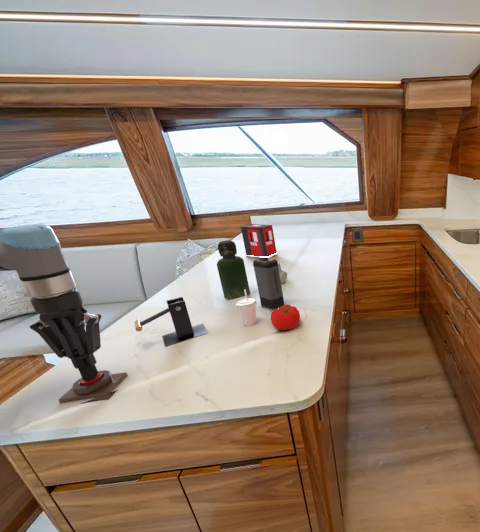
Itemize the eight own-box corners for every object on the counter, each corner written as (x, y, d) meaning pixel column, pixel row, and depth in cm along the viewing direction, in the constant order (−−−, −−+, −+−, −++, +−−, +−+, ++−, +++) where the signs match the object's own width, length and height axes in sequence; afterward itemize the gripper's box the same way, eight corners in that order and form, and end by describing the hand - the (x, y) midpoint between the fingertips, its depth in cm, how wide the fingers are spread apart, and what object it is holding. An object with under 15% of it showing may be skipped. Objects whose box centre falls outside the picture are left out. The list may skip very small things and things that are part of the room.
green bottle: (222, 295, 135) (209, 242, 127) (246, 289, 142) (235, 237, 134) (227, 302, 128) (214, 246, 120) (253, 295, 134) (242, 241, 126)
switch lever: (138, 333, 90) (133, 327, 89) (137, 326, 95) (132, 320, 93) (185, 309, 97) (180, 303, 96) (182, 303, 101) (178, 297, 100)
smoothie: (264, 323, 110) (257, 288, 105) (249, 331, 104) (241, 295, 100) (252, 319, 112) (245, 285, 108) (237, 327, 107) (229, 292, 102)
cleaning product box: (276, 255, 196) (272, 225, 189) (267, 259, 188) (261, 227, 181) (256, 253, 201) (251, 224, 194) (246, 257, 193) (240, 226, 186)
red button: (78, 389, 74) (75, 384, 74) (90, 379, 78) (87, 373, 77) (96, 387, 75) (94, 381, 75) (108, 376, 79) (105, 371, 78)
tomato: (276, 335, 101) (273, 318, 99) (269, 322, 110) (266, 306, 108) (304, 327, 106) (302, 310, 104) (296, 315, 115) (294, 300, 113)
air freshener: (273, 278, 154) (270, 260, 151) (289, 278, 154) (286, 260, 150) (263, 286, 144) (260, 267, 140) (280, 286, 143) (277, 267, 140)
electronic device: (286, 305, 123) (279, 259, 117) (274, 311, 119) (265, 264, 112) (271, 301, 128) (264, 256, 122) (259, 306, 123) (250, 260, 117)
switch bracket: (166, 350, 95) (153, 311, 90) (163, 338, 101) (151, 302, 97) (209, 335, 102) (199, 299, 98) (203, 326, 109) (194, 291, 104)
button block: (61, 406, 73) (54, 393, 71) (86, 384, 80) (81, 372, 79) (108, 399, 75) (103, 386, 73) (129, 378, 82) (124, 366, 81)
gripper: (99, 283, 73) (129, 364, 81) (35, 289, 71) (72, 371, 78) (74, 296, 66) (110, 382, 74) (2, 302, 64) (47, 391, 71)
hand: (91, 376), depth 76 cm, fingers closed
